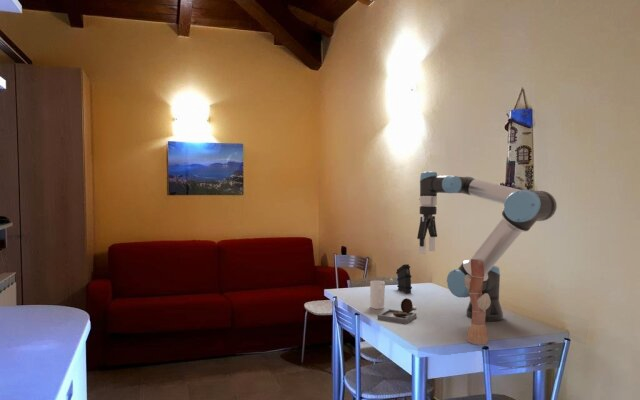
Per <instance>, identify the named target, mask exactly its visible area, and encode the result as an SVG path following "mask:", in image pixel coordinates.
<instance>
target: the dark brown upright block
mask: <svg viewBox="0 0 640 400" xmlns="http://www.w3.org/2000/svg"><path fill="white" fill-rule="evenodd" d="M410 269H411V266H410V265H409V264H402V265H401V266H400V267H398V268H397V269H396V272H395V274H396V276H397V279H396V281H397V285H396V286H397V290H398V291H400V292H402V291H403V293H404V292H405V293H404V294H411V293H412V289H413V286H412V279H411V278H412V275H411V271H410Z"/></svg>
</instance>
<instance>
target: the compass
mask: <svg viewBox="0 0 640 400" xmlns="http://www.w3.org/2000/svg"><path fill="white" fill-rule="evenodd" d="M413 306H414V305H413V301H412V300H411V299H410V298H407V297H405V298H404V299H402V301H401V303H400V309H401V311H403V312H395V313H394V314H393V315H394V316H408V315H409V314H407V313H409V312H411V311H412V307H413Z"/></svg>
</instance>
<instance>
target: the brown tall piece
mask: <svg viewBox="0 0 640 400" xmlns="http://www.w3.org/2000/svg"><path fill="white" fill-rule="evenodd" d="M470 259H471V258H470ZM483 262H484V261H483V260H482V259H471V276H470V275H468V274H467V275H466V276H465V280H464V282H465V286H466V288H468V289H469V301H470V300H471V304H472V318H471V323H470V325H469V329H468V331H467V334H466V341H467V343H469V344H473V345H478V346H485V345H488V343H489V335H488V331H487V327H486V321H485V317H486V309H488V308H489V307H490V304H491V300H490V297H489V295H488V294H487V293H485V294H483V295H482V287H483V280H484V264H483Z"/></svg>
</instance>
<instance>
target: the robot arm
mask: <svg viewBox="0 0 640 400" xmlns="http://www.w3.org/2000/svg"><path fill="white" fill-rule="evenodd" d="M419 179H420V180H419V191H420V192H419V198H418V201H419V205H420V206H419V215H423V216H420V221H419V227H418V232H417V237H416V238H417V240H419V242H418V244H419V245H418V254H419V255H420V254H421V255H426V254H427V253H426V251H427V249H426V246H427V245H426V244H427V239H426V236H427V232H428V234H429V236H428V251H429V252H435V251H436V238H438V234H437V226H436V216H435V215H437V205H438V204H437V203H438V199H437V198H438V195H437V194H465V195H468V196H473V197H476V198H479V199H483V200H487V201H491V202H493V203H497V204H501V205H503V207H504V208H503V211H501V216H502V219H500V221H499V222H498V224H496V226H495V228H493V230H492V231H491V232H490V234H489V235H488V236H487V238H486V239H485V240H484V241H483V242H482V244H481V245H480V247H479V248H478V249H477V250H476V251H475V252H474V254H473V255H472V256H471V258H470V259H465V260H463V262H462V264H460V266H458V268H456V269H455V268H454V269H452V270H450V272H448V275H447V277H446V283H447V287H448V289H449V291H450V293H451V294H452V295H453V296H455V297H456V298H470V296H469V289H468V288H466V286H465V282H464V280H465V276H466V275H467V274H468V275H470V276H471V259H482V260H483V261H484V262H483V264H484V280H483V287H482V295H483V294H485V293H487V294H488V295H489V297H490V300H491V304H490V307H489V308H488V309H486V317H485V322H496V321H502V320H503V319H504V312H503V309H502V306H501V303H500V282H501V281H500V279H501V278H500V277H501V274H500V272H501V271H500V267H499V266H497V265H495V264H497V262H498V261H499V260H500V259H501V257H502V256H503V255H505V253H506V252H507V250H508V249H509V248H510V246H512V245H513V243H514V242H515V241H516V239H517V238H518V237H519V236H520V235H521V233H522V232H529V231H530V229H531V228H532V227H533V226H534V225H535V223H536V222H543V221H547V220H548V219H551V218H552V217H553V216H554V215H555V213H556V211H557V207H558V206H557V200H556V198H555V197H554V196H553V195H552V194H551V193H550V192H547V191H545V190H535V189H518V188H514V187H509V186H507V185H506V186H505V185H501V184H498V183H493V182H489V181H484V180H480V179H476V178H474V177H471V176H458V175H439V176H438V173H437V172H436V171H421V173H420V178H419ZM465 316H466V317H468V318H470V319H472V304H471V300H470V299H469V302H468V305H467V308H466V315H465Z"/></svg>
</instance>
